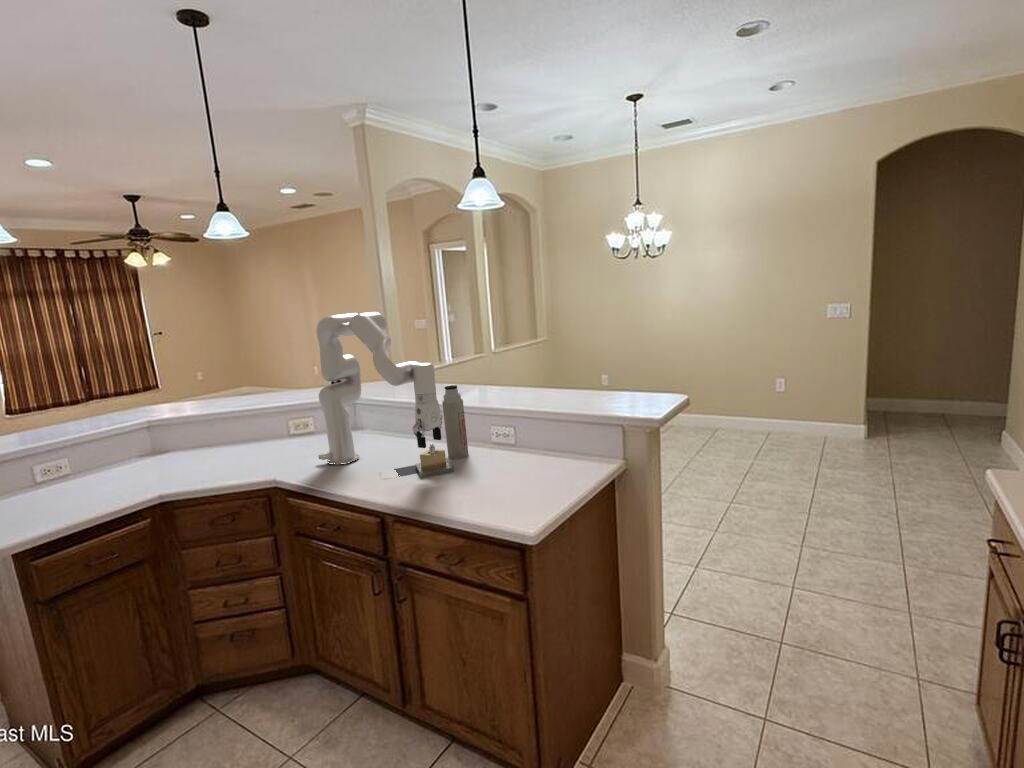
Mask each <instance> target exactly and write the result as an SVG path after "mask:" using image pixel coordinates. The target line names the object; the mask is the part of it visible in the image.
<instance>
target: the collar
mask: <svg viewBox="0 0 1024 768" xmlns="http://www.w3.org/2000/svg"><path fill="white" fill-rule="evenodd" d="M419 459H420V463H421V468H429V469H437V468H439V467H441V466H442V465H444V464H446V450H444V449H436V448H435V453H434V454H430V449H428V450H426V451H424V452H422V453H420V454H419Z"/></svg>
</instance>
